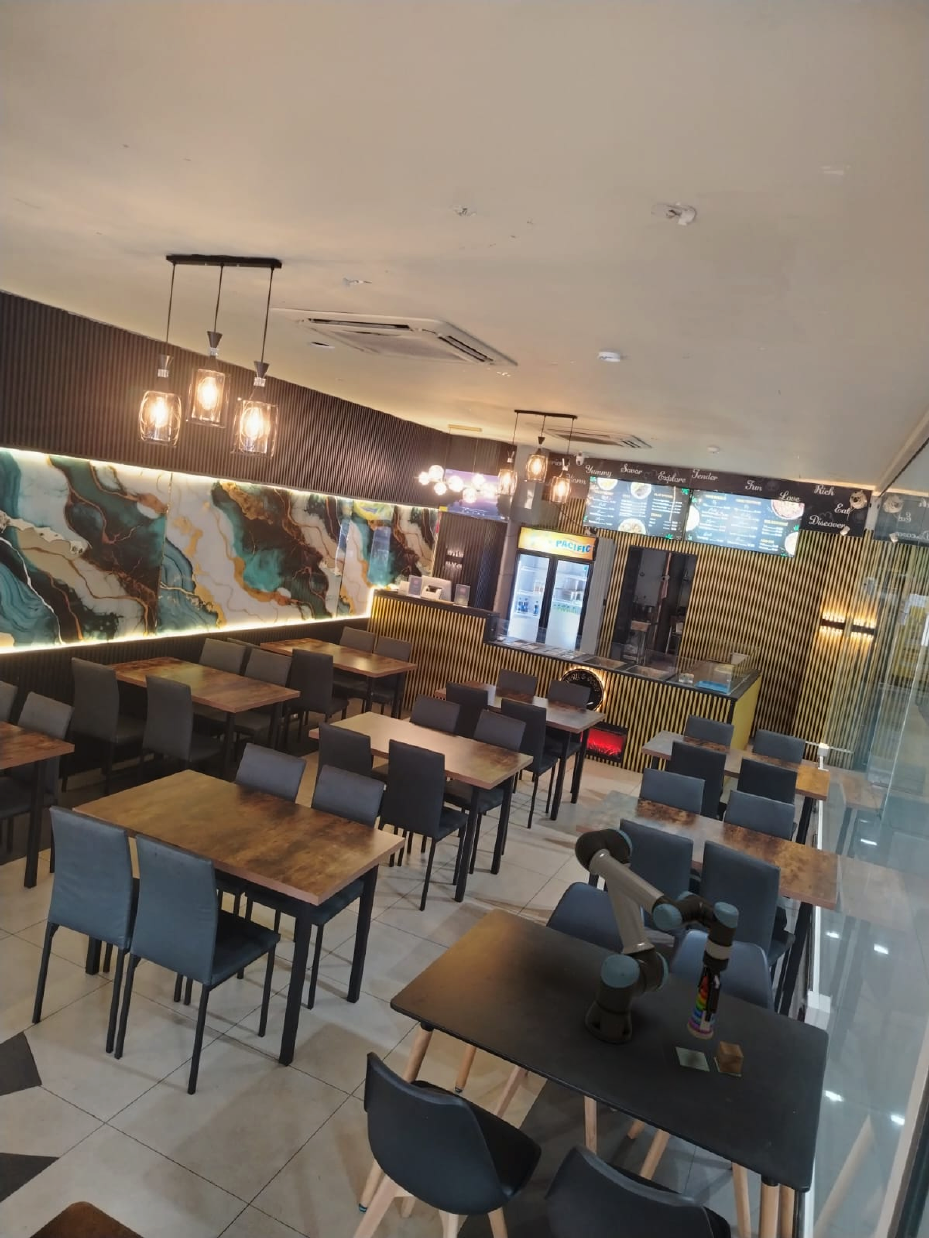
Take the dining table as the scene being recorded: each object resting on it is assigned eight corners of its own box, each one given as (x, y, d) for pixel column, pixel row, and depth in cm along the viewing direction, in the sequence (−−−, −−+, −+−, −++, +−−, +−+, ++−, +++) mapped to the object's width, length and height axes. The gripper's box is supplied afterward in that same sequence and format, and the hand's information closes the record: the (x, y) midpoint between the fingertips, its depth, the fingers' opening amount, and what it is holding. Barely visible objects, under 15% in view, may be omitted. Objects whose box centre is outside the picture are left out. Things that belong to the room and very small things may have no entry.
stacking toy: (713, 1043, 247) (726, 986, 245) (687, 1035, 248) (700, 979, 246) (710, 1028, 254) (723, 973, 252) (685, 1021, 256) (697, 966, 254)
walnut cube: (720, 1070, 249) (724, 1052, 248) (715, 1058, 255) (719, 1041, 254) (739, 1075, 248) (743, 1057, 248) (734, 1062, 254) (738, 1045, 254)
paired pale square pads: (670, 1073, 245) (671, 1069, 245) (662, 1041, 261) (663, 1037, 261) (749, 1091, 243) (750, 1087, 243) (736, 1057, 259) (736, 1054, 259)
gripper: (737, 973, 238) (720, 1044, 240) (721, 939, 258) (706, 1005, 261) (712, 967, 239) (696, 1038, 241) (698, 934, 259) (683, 1000, 261)
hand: (701, 1021), depth 251 cm, fingers closed on stacking toy, 7 cm apart
